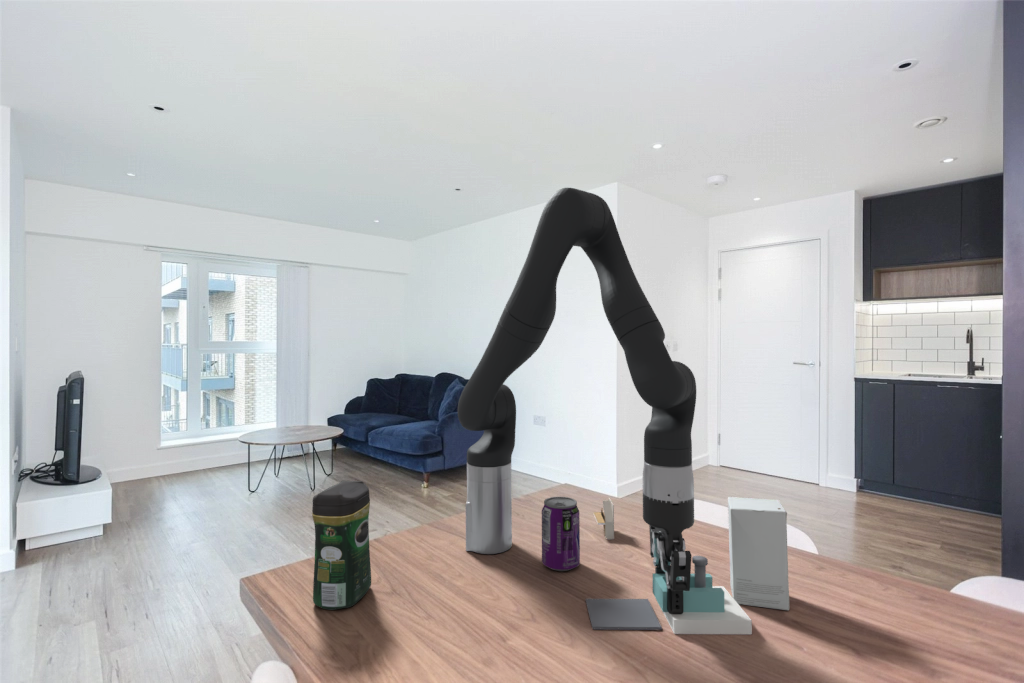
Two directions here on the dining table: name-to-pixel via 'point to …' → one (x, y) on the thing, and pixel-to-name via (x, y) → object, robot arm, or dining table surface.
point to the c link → (691, 595)
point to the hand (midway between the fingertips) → (668, 601)
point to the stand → (710, 622)
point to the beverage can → (560, 533)
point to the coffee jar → (341, 545)
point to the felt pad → (622, 614)
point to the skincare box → (758, 552)
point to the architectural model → (606, 518)
